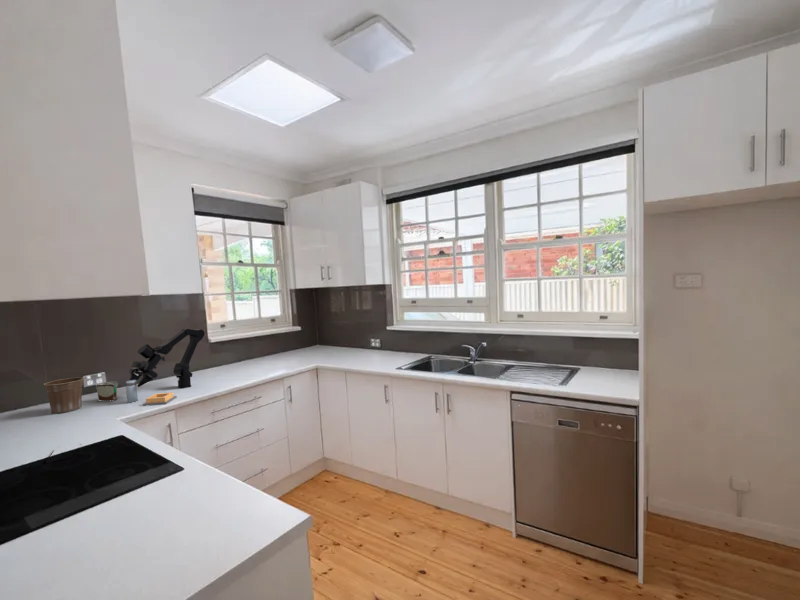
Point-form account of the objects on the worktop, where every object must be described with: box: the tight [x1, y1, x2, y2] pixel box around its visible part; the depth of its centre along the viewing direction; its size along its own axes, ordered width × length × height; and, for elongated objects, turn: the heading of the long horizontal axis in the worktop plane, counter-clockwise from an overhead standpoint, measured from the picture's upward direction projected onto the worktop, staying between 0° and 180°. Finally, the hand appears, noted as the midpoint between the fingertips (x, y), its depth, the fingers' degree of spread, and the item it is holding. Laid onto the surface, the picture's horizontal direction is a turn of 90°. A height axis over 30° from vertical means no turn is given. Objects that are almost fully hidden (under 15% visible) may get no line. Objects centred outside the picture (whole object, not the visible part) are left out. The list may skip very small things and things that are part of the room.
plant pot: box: [43, 376, 85, 414], centre depth 199 cm, size 16×16×16 cm
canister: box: [125, 379, 139, 404], centre depth 210 cm, size 5×5×12 cm
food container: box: [95, 381, 119, 402], centre depth 217 cm, size 12×6×10 cm, turn 84°
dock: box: [142, 392, 178, 407], centre depth 207 cm, size 12×12×4 cm
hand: (133, 386), depth 210 cm, fingers open, 9 cm apart
